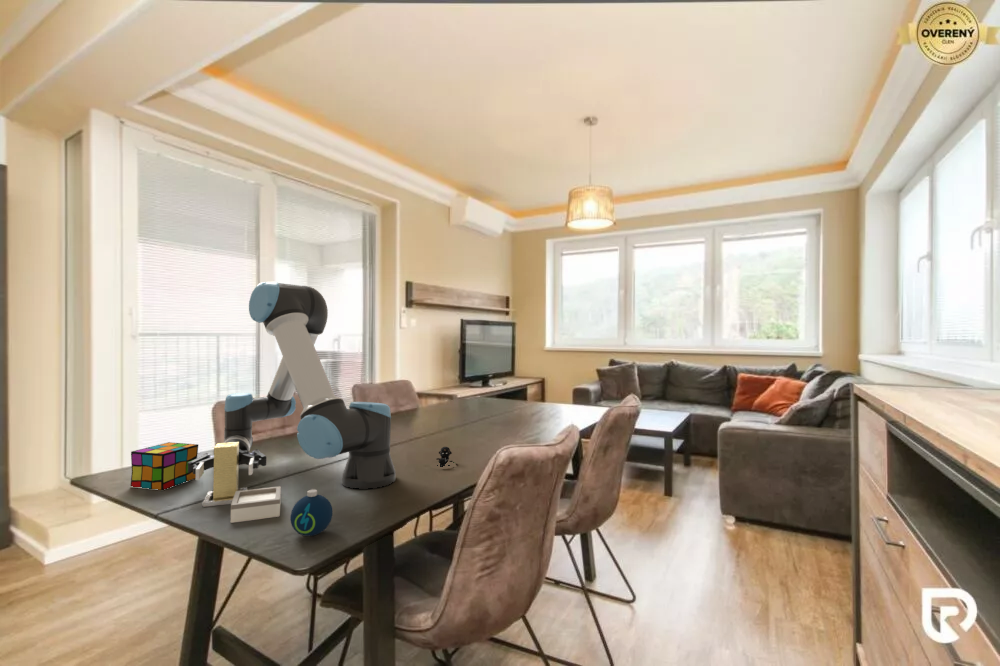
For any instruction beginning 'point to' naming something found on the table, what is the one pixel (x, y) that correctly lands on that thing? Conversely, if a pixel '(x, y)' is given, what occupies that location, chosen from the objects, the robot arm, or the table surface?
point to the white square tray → (256, 504)
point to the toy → (162, 465)
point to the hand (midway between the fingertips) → (224, 472)
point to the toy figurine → (444, 456)
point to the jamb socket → (217, 502)
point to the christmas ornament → (311, 514)
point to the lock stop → (225, 470)
